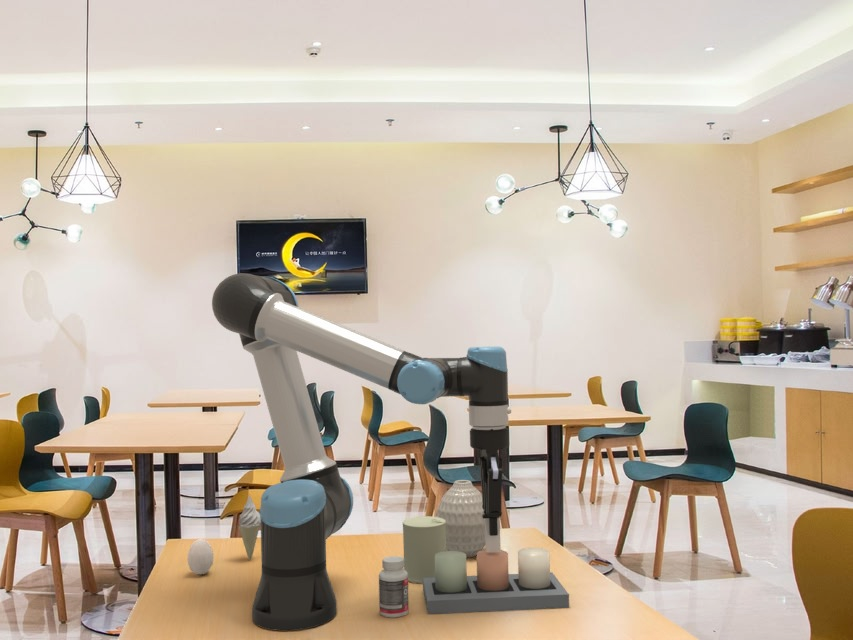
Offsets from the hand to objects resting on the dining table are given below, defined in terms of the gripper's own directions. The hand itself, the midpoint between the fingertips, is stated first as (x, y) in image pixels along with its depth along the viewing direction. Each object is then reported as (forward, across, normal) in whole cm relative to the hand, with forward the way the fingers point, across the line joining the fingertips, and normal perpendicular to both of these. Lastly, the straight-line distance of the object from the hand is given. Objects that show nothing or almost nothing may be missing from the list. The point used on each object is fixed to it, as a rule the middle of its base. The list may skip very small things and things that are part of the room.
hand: (492, 550), depth 143 cm
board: (+9, 0, 0) cm, 9 cm away
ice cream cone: (+9, +32, +51) cm, 61 cm away
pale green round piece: (+7, 0, +8) cm, 10 cm away
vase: (+9, +30, +2) cm, 32 cm away
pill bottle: (+9, -5, +19) cm, 22 cm away
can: (+9, +15, +12) cm, 21 cm away
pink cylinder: (+7, 0, 0) cm, 7 cm away
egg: (+9, +23, +60) cm, 65 cm away
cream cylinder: (+7, 0, -8) cm, 10 cm away
